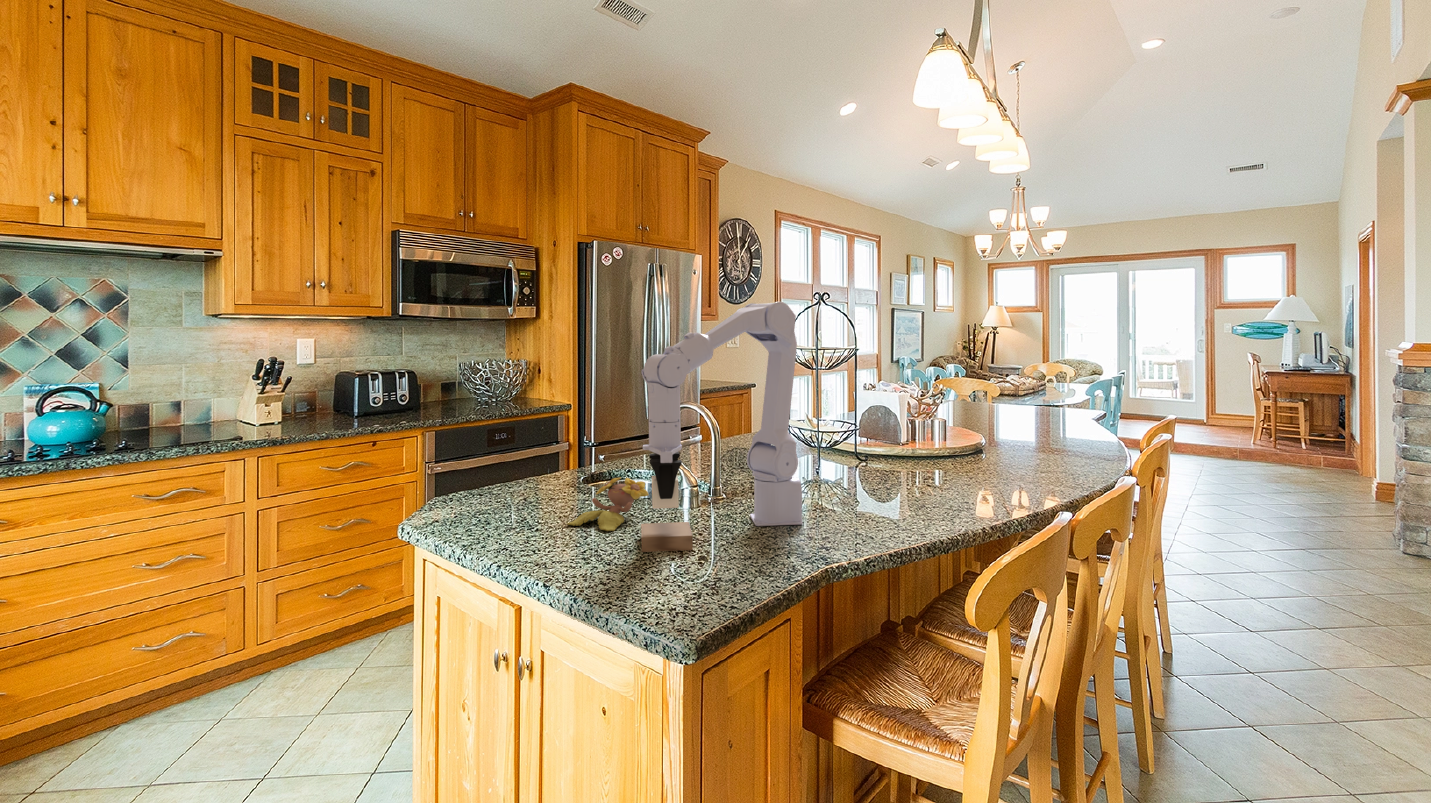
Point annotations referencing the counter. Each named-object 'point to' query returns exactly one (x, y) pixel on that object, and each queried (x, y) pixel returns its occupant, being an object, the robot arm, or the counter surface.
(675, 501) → the ceramic cube
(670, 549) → the walnut block
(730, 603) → the counter surface
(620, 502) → the figurine
